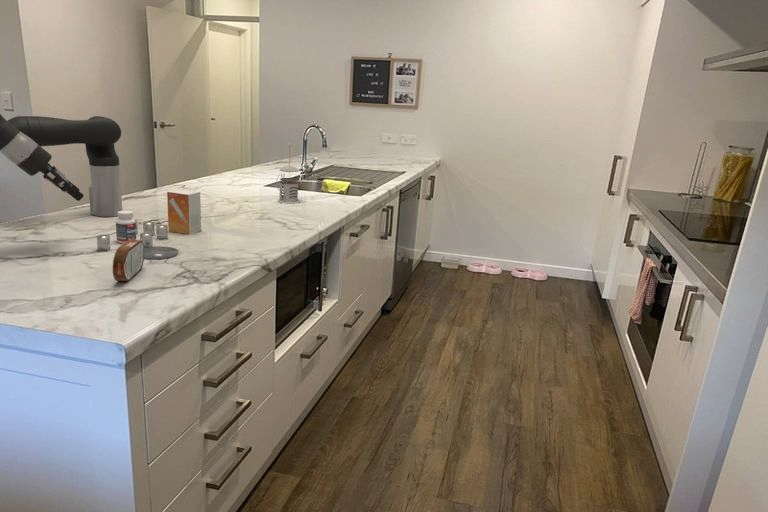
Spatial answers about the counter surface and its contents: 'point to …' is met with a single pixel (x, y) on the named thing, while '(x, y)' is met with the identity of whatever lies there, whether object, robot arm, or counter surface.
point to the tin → (128, 260)
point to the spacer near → (103, 242)
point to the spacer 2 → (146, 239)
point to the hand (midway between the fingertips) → (79, 195)
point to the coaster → (159, 252)
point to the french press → (288, 185)
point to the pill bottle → (125, 227)
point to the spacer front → (162, 232)
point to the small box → (184, 211)
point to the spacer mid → (149, 227)
